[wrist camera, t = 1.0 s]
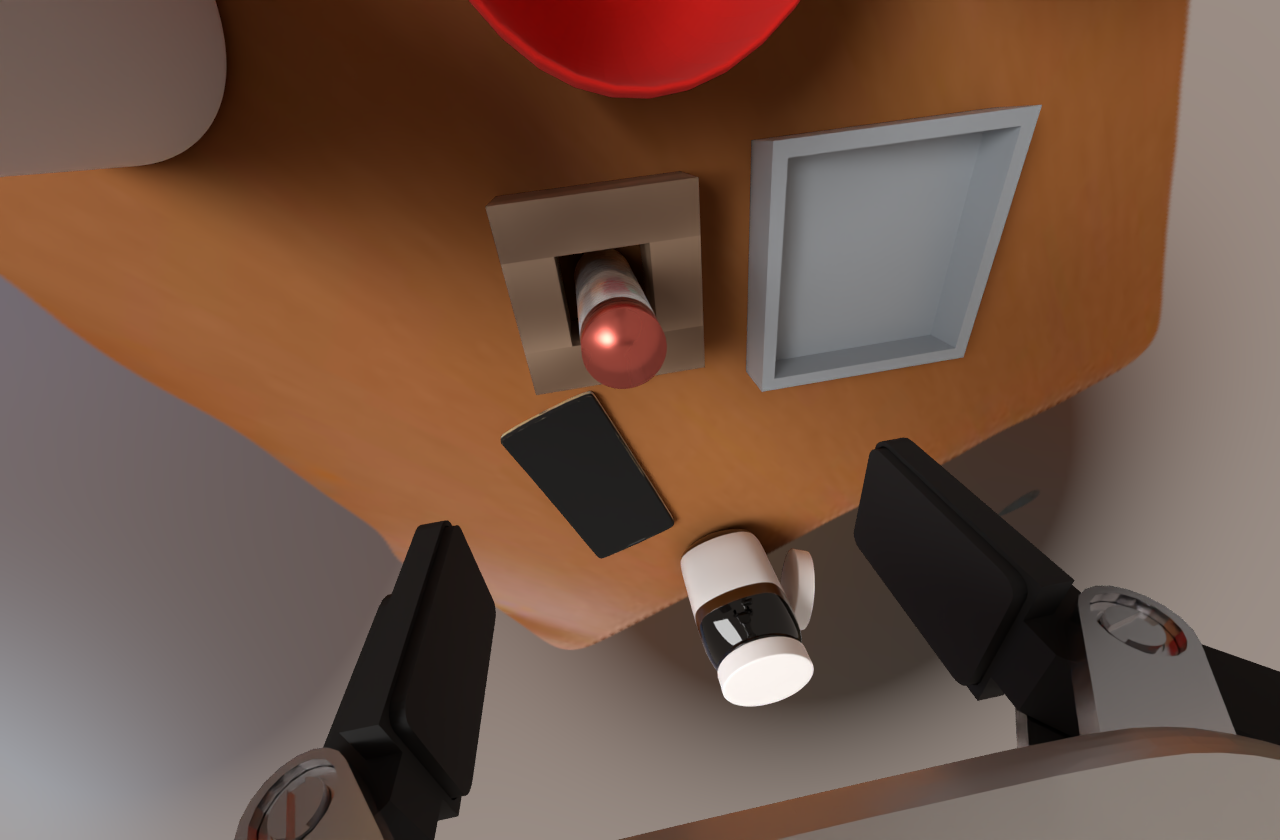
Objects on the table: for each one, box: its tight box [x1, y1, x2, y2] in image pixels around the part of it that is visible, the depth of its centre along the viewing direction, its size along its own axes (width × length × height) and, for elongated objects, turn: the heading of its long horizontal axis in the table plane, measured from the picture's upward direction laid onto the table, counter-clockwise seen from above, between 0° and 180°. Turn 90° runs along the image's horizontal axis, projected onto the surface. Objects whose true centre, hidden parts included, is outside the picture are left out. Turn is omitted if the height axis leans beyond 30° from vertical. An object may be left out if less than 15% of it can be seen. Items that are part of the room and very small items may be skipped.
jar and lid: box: [681, 529, 815, 706], centre depth 38 cm, size 12×11×12 cm
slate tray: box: [746, 105, 1042, 392], centre depth 27 cm, size 14×14×3 cm
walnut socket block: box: [485, 171, 705, 395], centre depth 25 cm, size 10×10×4 cm
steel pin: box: [575, 248, 667, 389], centre depth 22 cm, size 3×3×11 cm
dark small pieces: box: [501, 391, 674, 558], centre depth 35 cm, size 7×1×15 cm
